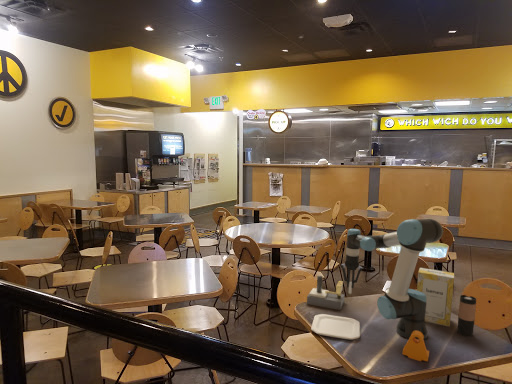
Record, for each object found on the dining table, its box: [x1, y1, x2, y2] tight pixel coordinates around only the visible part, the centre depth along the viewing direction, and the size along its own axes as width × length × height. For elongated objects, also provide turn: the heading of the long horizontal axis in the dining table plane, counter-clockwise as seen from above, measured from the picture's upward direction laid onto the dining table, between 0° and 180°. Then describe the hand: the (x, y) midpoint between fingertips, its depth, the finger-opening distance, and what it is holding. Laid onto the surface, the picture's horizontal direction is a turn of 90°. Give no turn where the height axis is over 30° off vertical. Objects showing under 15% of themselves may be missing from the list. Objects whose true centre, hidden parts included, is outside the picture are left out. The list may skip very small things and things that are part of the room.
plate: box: [310, 313, 361, 340], centre depth 197 cm, size 25×25×2 cm
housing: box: [306, 290, 345, 311], centre depth 232 cm, size 14×21×5 cm, turn 69°
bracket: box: [402, 331, 430, 362], centre depth 172 cm, size 11×7×12 cm, turn 60°
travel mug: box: [457, 294, 477, 337], centre depth 197 cm, size 8×8×20 cm
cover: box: [308, 275, 329, 298], centre depth 233 cm, size 11×10×12 cm
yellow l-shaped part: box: [325, 280, 344, 298], centre depth 230 cm, size 10×10×9 cm
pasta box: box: [416, 267, 455, 328], centre depth 213 cm, size 18×10×28 cm, turn 62°
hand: (349, 292), depth 222 cm, fingers closed
